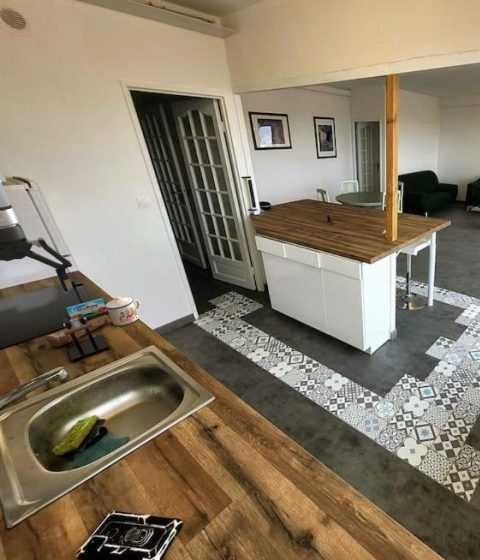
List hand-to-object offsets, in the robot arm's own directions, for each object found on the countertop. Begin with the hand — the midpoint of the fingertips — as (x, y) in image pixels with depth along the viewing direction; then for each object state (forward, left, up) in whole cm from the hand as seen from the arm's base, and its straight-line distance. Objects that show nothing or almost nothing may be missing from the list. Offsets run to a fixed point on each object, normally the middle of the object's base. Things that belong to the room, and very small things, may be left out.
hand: (33, 297), depth 89 cm
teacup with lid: (+22, +33, -31) cm, 50 cm away
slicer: (+6, +19, -31) cm, 37 cm away
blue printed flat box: (+11, +49, -31) cm, 59 cm away
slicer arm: (+6, +13, -19) cm, 24 cm away
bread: (+6, +33, -31) cm, 46 cm away
